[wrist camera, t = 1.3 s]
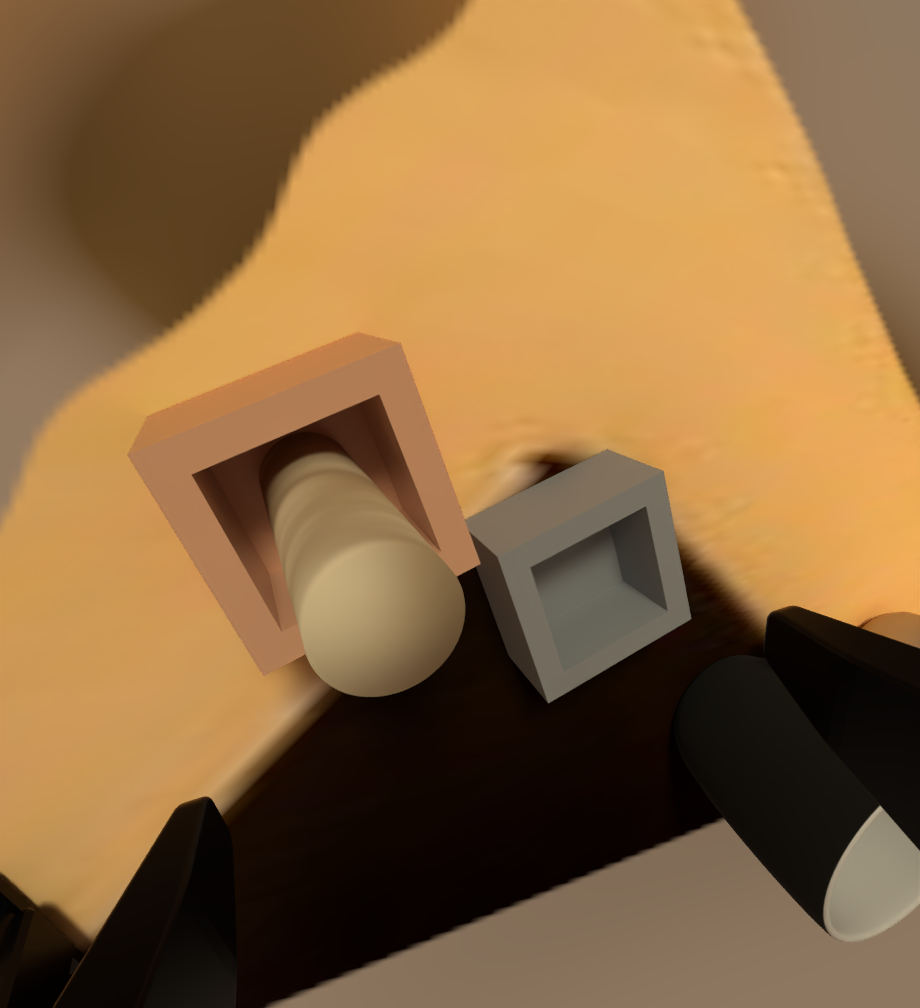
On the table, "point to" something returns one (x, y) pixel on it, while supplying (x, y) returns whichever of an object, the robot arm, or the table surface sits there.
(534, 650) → the socket block
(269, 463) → the dowel
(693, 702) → the mug
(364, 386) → the square box
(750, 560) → the table surface
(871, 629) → the plastic bottle
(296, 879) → the table surface
